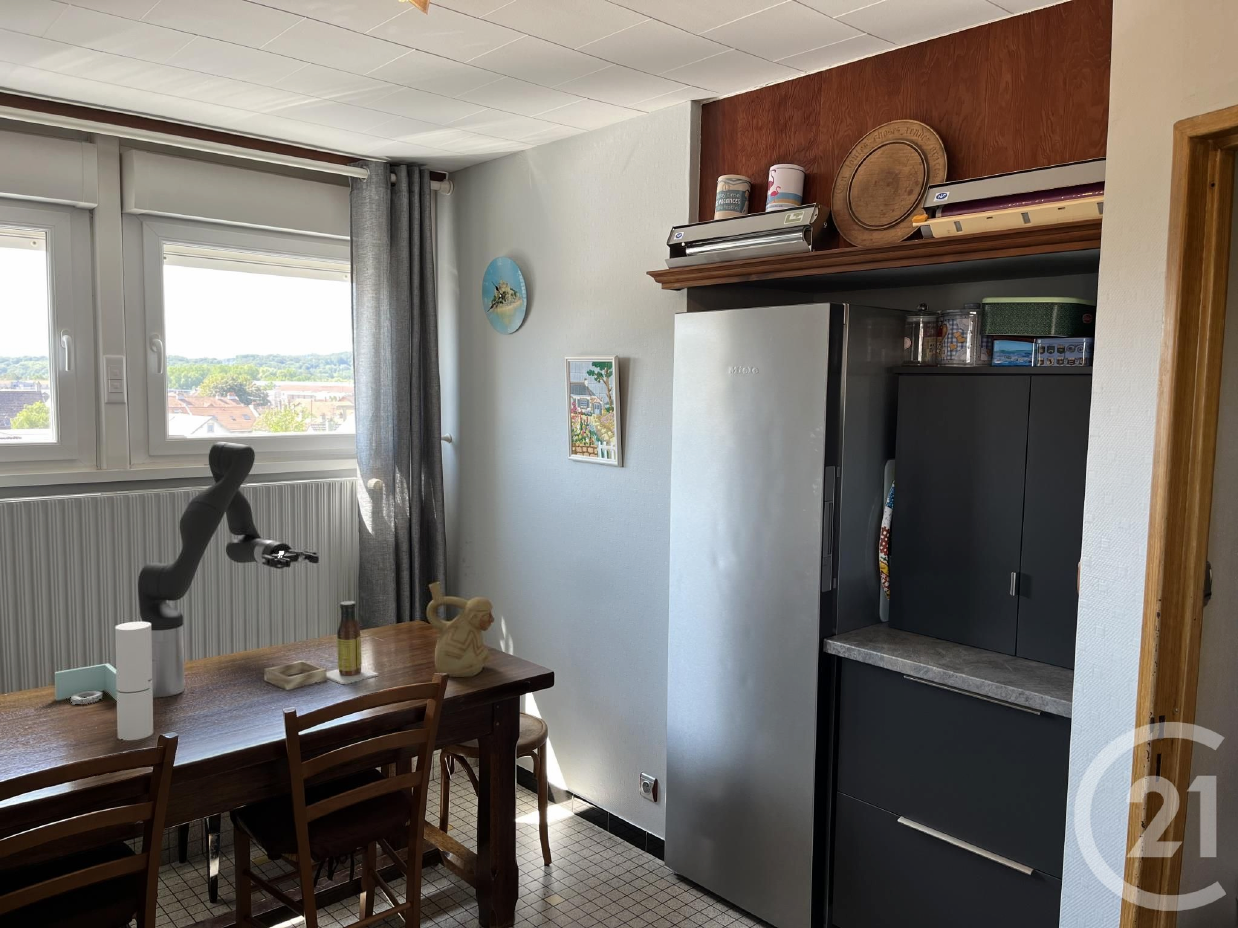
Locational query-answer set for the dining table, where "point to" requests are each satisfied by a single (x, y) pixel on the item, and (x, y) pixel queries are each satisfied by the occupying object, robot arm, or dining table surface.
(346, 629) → the sauce bottle
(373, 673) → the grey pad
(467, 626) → the ceramic vessel
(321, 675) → the wood collar
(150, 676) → the cylindrical container
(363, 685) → the dining table surface
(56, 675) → the l-shaped corner panel
